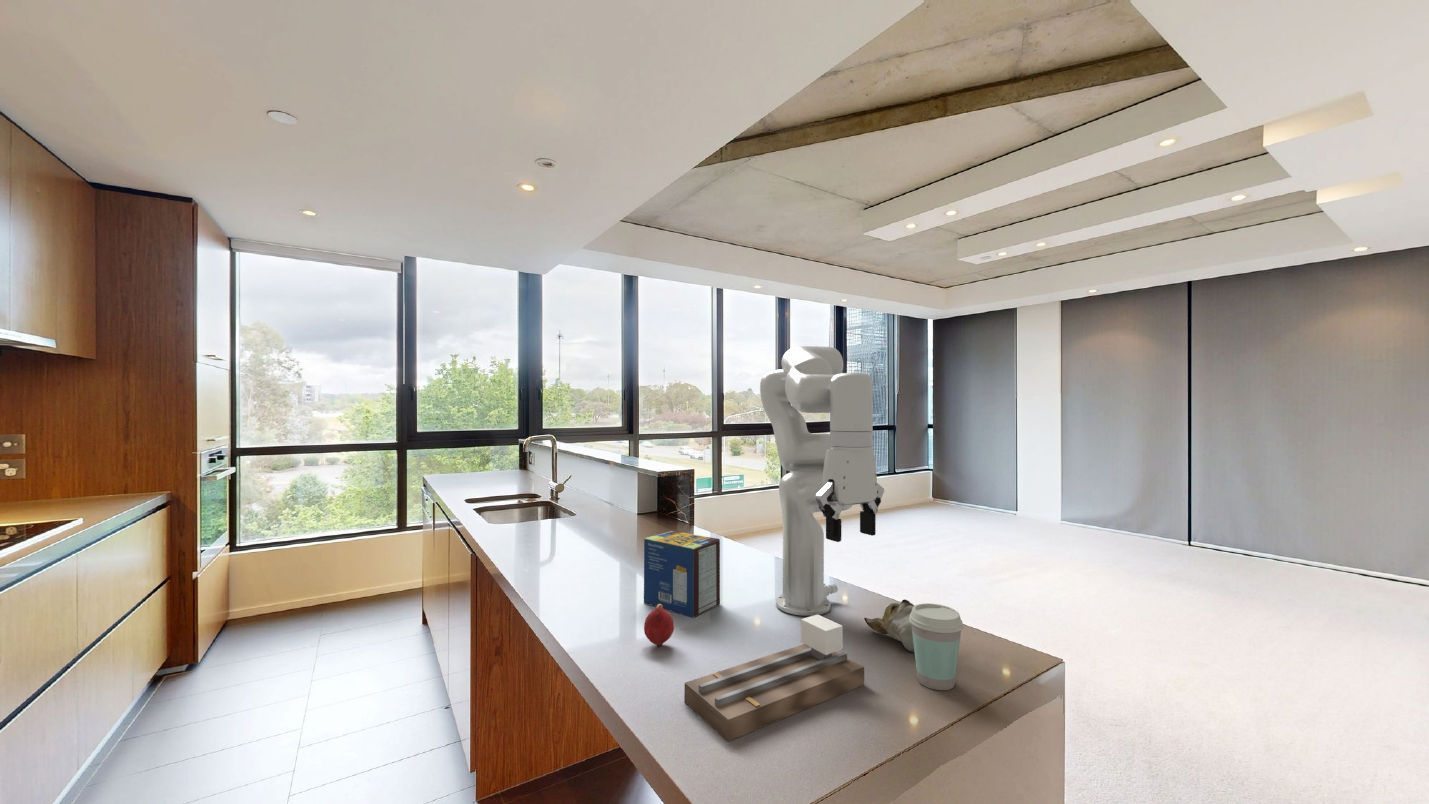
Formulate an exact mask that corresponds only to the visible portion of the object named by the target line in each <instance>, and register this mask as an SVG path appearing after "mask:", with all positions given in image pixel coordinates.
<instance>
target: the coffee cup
mask: <svg viewBox="0 0 1429 804" xmlns="http://www.w3.org/2000/svg"><path fill="white" fill-rule="evenodd" d="M909 621H910V622H911V625H912V634H913V643H914V652H913V653H914V659H915V669H916V676H917V677H916V678H917V681H918V682H919V683H920V684H921V685H923V686H924V687H926V688H928V689H931V690H936V691H949V690H951V689H953V688H955V682H956V675H957V673H956V672H957V667H958V658H959V650H960V642H961V635H962V630H963V629H964V624H963V620H962V618H961V615H960V613H959V612H958V610H956V609H954V608H952V607H949V606H946V605H943V604H939V603H928V602H927V603H918V604H916V605H915V604H914V607H913V608H912V612H911V613H910V617H909Z"/></svg>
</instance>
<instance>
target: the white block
mask: <svg viewBox="0 0 1429 804" xmlns="http://www.w3.org/2000/svg"><path fill="white" fill-rule="evenodd" d="M843 628H844V627H843V624H839V623H837V622H835V621H833V620H831V619H828V618H826V617H824V616H822V615H821V614H820V615H818V614H817V615H814V616H806V617H804V618H801V619H800V643H802V644H806V645H808V646H810V647H811V655H812V656H813V657H815V658H817V659H819V660H822V659H825V658H828V657H831V656H832V653H833V652H836V653H837V652H839V651H841V650H843V648H844V647H843V644H844V643H843V640H844V639H843V636H844V635H843V632H844V630H843Z"/></svg>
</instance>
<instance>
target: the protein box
mask: <svg viewBox="0 0 1429 804" xmlns="http://www.w3.org/2000/svg"><path fill="white" fill-rule="evenodd" d="M643 547H644V548H643V554H644V555H643V603H644V604H646V605H648V606H649V605H650V606H653V607H655V608H656V607H657V605H658V604H662V605H663V609H664V610H666V611H669V612H673V613H675V614H679V615H683V616H685V617H689V618H692V619H693V618H696V617H698V616H700V615H702V614H703V613H705V612H707V611H709V610H711V609H713V608H715V607H717V606H719V605H720V604H721V540H720V538H716V537H711V536H710V537H709V536H705V535H699V534H694V533H693V534H692V533H687V532H682V531H676V530H669V531H664V532H662V533H659V534H658V533H657V534H655V535H651V536H647V537H645V538H644V539H643Z"/></svg>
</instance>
